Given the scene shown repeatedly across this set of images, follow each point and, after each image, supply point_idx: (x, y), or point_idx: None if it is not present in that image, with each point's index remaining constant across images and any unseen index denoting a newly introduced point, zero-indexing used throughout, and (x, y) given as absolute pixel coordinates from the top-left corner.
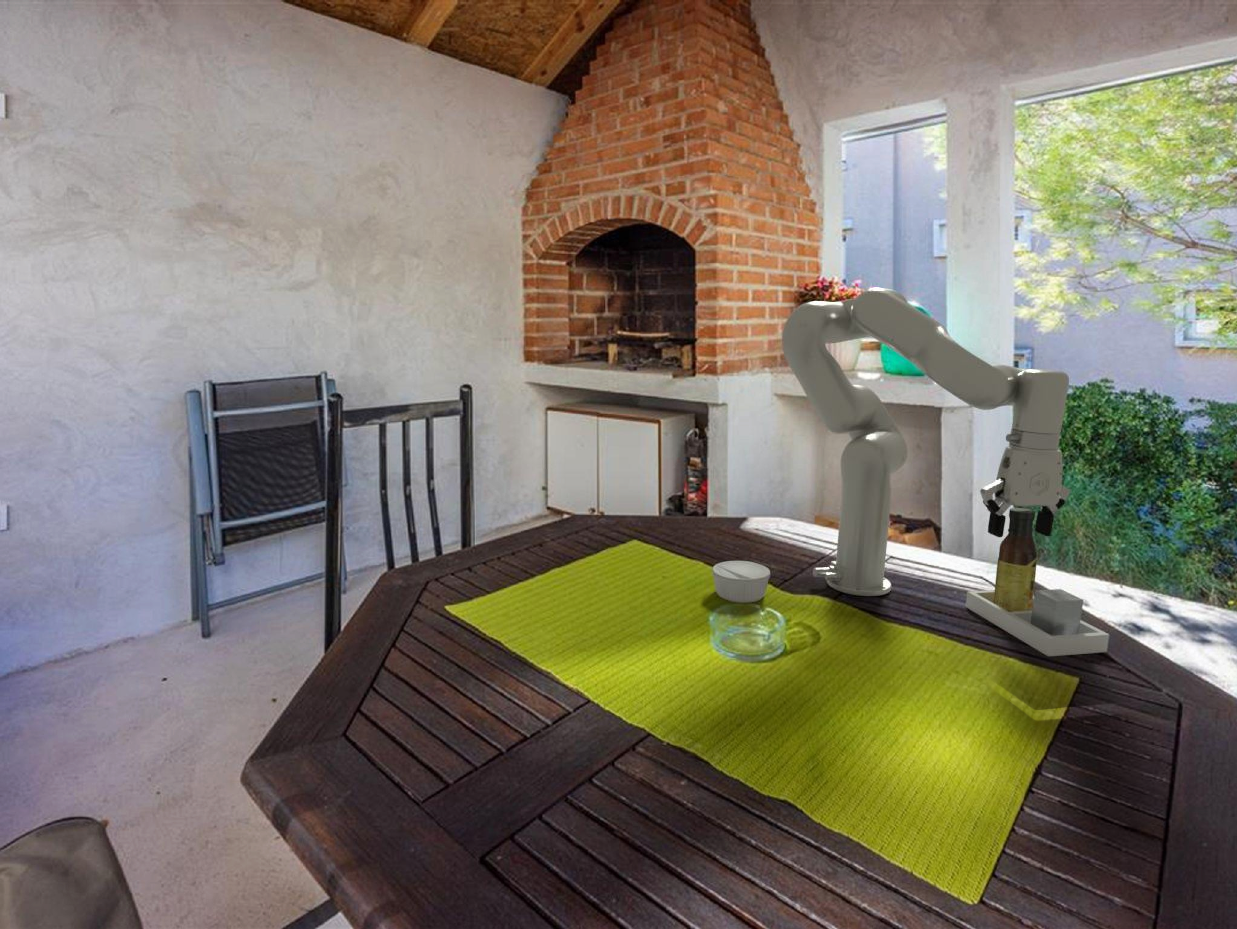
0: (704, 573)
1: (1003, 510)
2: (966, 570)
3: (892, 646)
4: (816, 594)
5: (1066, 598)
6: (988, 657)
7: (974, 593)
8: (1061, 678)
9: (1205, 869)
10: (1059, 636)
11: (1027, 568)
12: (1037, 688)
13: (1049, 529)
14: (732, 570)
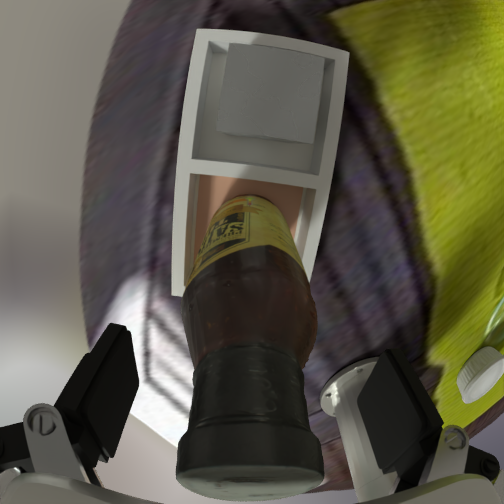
0: (452, 405)
1: (446, 452)
2: (153, 399)
3: (483, 208)
4: (427, 365)
5: (274, 62)
6: (411, 120)
7: None
8: (358, 24)
9: None
10: (321, 50)
11: (264, 238)
12: (413, 30)
13: (108, 346)
14: (492, 379)
